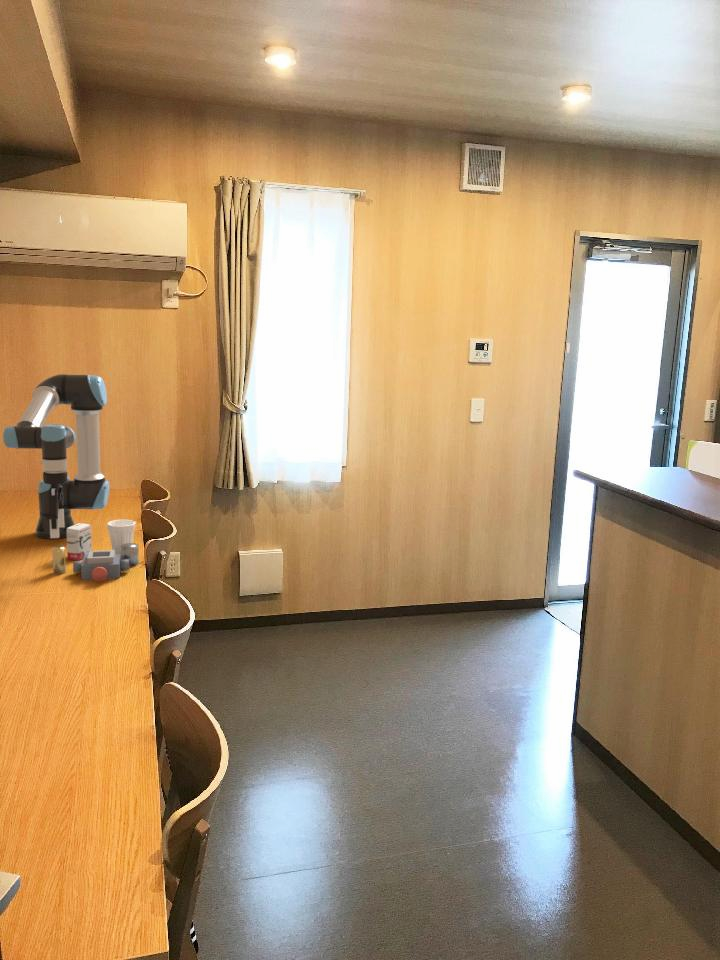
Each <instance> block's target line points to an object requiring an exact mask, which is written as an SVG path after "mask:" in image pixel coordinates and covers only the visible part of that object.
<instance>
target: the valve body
mask: <svg viewBox="0 0 720 960" xmlns="http://www.w3.org/2000/svg"><path fill="white" fill-rule="evenodd" d="M126 570H127V571H129V570H130V567H129V559H124V560H121V554H115V550H112V549H107V550H106V549H104V550H103V549H102V550H100V549H99V550H92V551H89V554H88V555H84V558H83V559H82V561H81V560H76V561H73V565H72V571H73V573H81V581H92V580H94V581H95V582H103V581H105V580H112V579H113V580H114V579H120V576H121V571H126Z"/></svg>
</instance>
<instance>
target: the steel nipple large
mask: <svg viewBox="0 0 720 960" xmlns="http://www.w3.org/2000/svg"><path fill="white" fill-rule="evenodd" d="M139 555H140V553H139V544H138V543H134V542H133V543H126V544H122V545H121V560H124V559H129V568H130V567H131V566H132V567H137V566H139V564H140V562H139V561H140V560H139V559H140V557H139ZM136 565H137V566H136ZM132 567H131V568H132Z"/></svg>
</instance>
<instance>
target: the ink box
mask: <svg viewBox="0 0 720 960" xmlns="http://www.w3.org/2000/svg"><path fill="white" fill-rule="evenodd" d="M74 524H75V525H73V526H71V527H68V528H67V529H66V530H67V537H66V550H67V551H66V552H67V553H66V554H67V555H66V556H67V560H72V561H81V560H83V558H84V555H88V554H89V551H93V550H92V525H91V524H87V523H82V522H78V523H74Z"/></svg>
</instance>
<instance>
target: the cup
mask: <svg viewBox="0 0 720 960" xmlns="http://www.w3.org/2000/svg"><path fill="white" fill-rule="evenodd" d="M106 525H107V530H108V535H109V540H110V544H111V545H110V546H111V550H115V554H121V545H122V544H126V543H134V536H135V535H134V534H135V529H136V521H135V520H131V519H114V520H110V521H109V522H107V524H106Z"/></svg>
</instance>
